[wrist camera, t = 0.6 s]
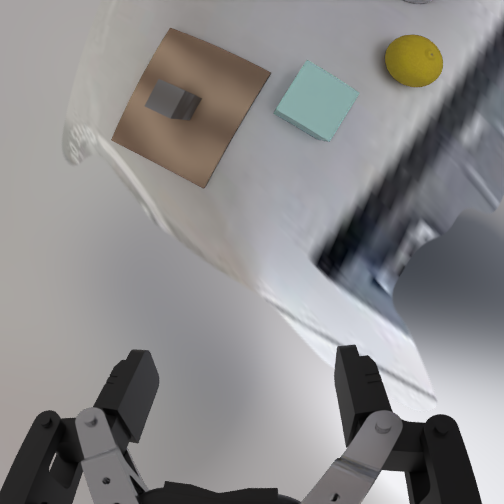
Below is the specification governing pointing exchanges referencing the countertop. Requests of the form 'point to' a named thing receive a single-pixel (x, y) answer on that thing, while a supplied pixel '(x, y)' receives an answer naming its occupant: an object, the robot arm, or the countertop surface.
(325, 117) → the mint foam cube
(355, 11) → the countertop surface
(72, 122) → the countertop surface
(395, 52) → the lemon
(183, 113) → the stand
